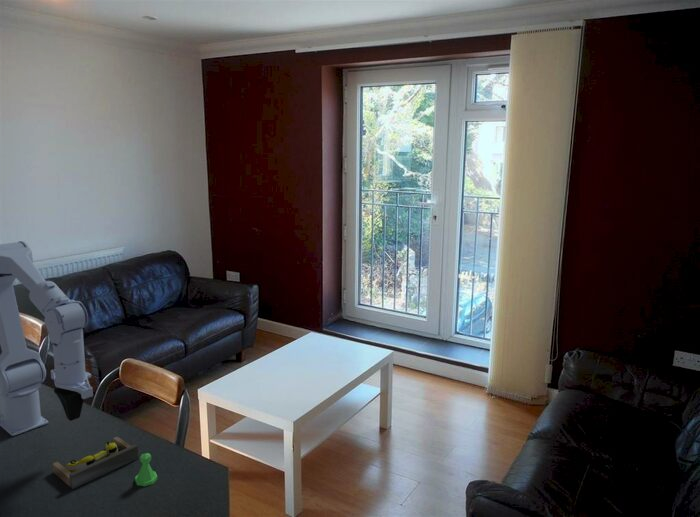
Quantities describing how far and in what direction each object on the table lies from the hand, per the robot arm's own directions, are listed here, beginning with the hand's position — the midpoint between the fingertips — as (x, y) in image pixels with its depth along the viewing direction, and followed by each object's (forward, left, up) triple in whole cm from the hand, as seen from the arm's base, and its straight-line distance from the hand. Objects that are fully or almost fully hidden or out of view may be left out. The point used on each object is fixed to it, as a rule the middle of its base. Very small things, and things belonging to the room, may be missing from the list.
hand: (73, 418), depth 114 cm
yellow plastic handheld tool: (+6, +1, -9) cm, 11 cm away
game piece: (+20, +5, -9) cm, 22 cm away
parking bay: (+7, +1, -9) cm, 11 cm away
